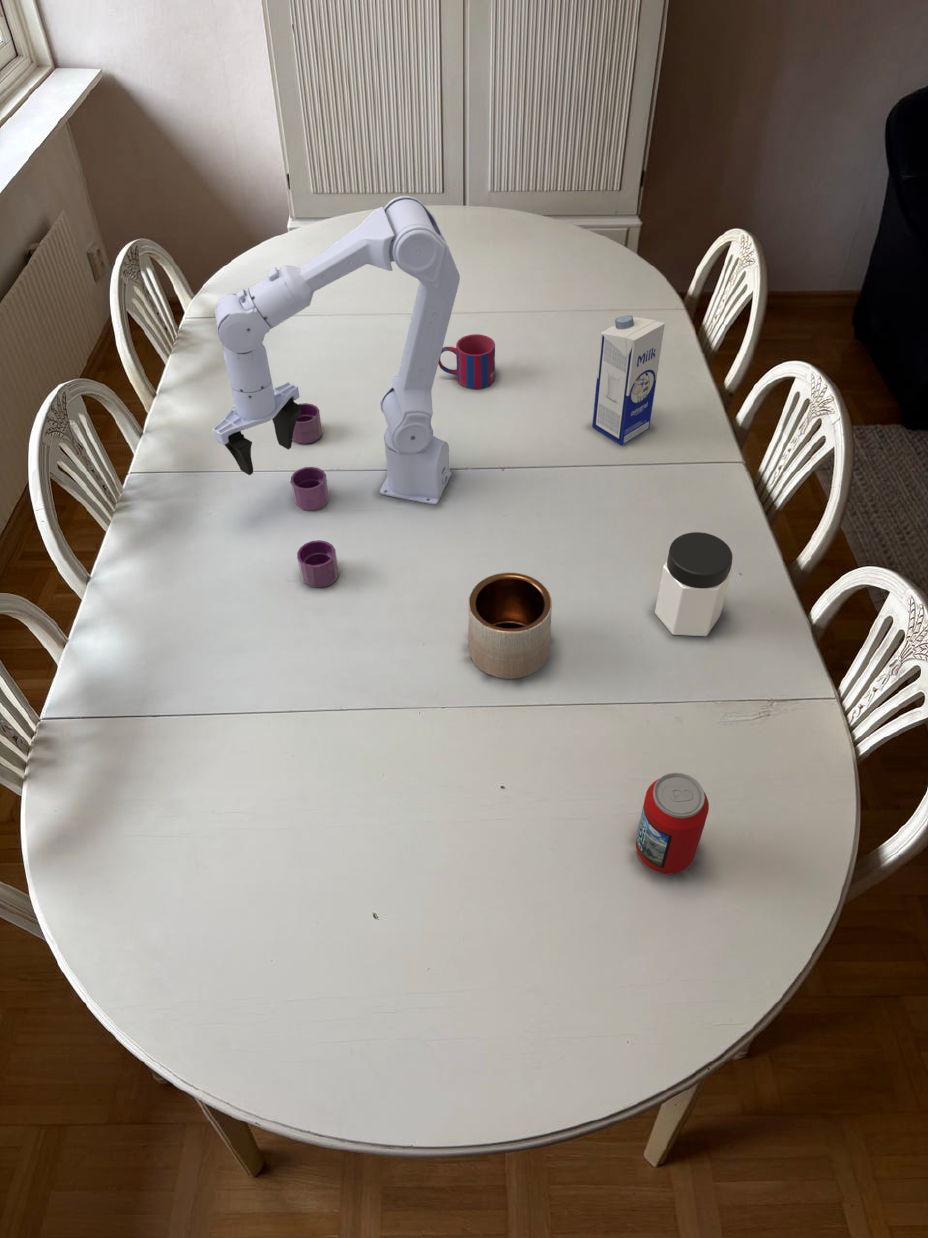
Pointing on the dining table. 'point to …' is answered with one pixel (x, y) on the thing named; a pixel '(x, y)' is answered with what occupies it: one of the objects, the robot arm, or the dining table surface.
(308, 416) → the dish
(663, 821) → the beverage can
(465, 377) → the mug
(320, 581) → the purple small cup
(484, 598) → the planter
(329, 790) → the dining table surface
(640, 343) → the milk carton
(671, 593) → the jar
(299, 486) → the dish
